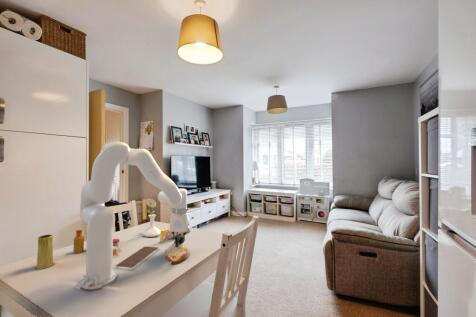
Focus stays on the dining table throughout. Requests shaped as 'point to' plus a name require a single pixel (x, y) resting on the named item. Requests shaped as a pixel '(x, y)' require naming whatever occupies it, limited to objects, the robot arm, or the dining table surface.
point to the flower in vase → (151, 220)
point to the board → (137, 257)
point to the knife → (174, 245)
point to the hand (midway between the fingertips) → (179, 243)
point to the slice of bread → (177, 254)
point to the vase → (45, 251)
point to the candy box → (167, 235)
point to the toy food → (80, 243)
